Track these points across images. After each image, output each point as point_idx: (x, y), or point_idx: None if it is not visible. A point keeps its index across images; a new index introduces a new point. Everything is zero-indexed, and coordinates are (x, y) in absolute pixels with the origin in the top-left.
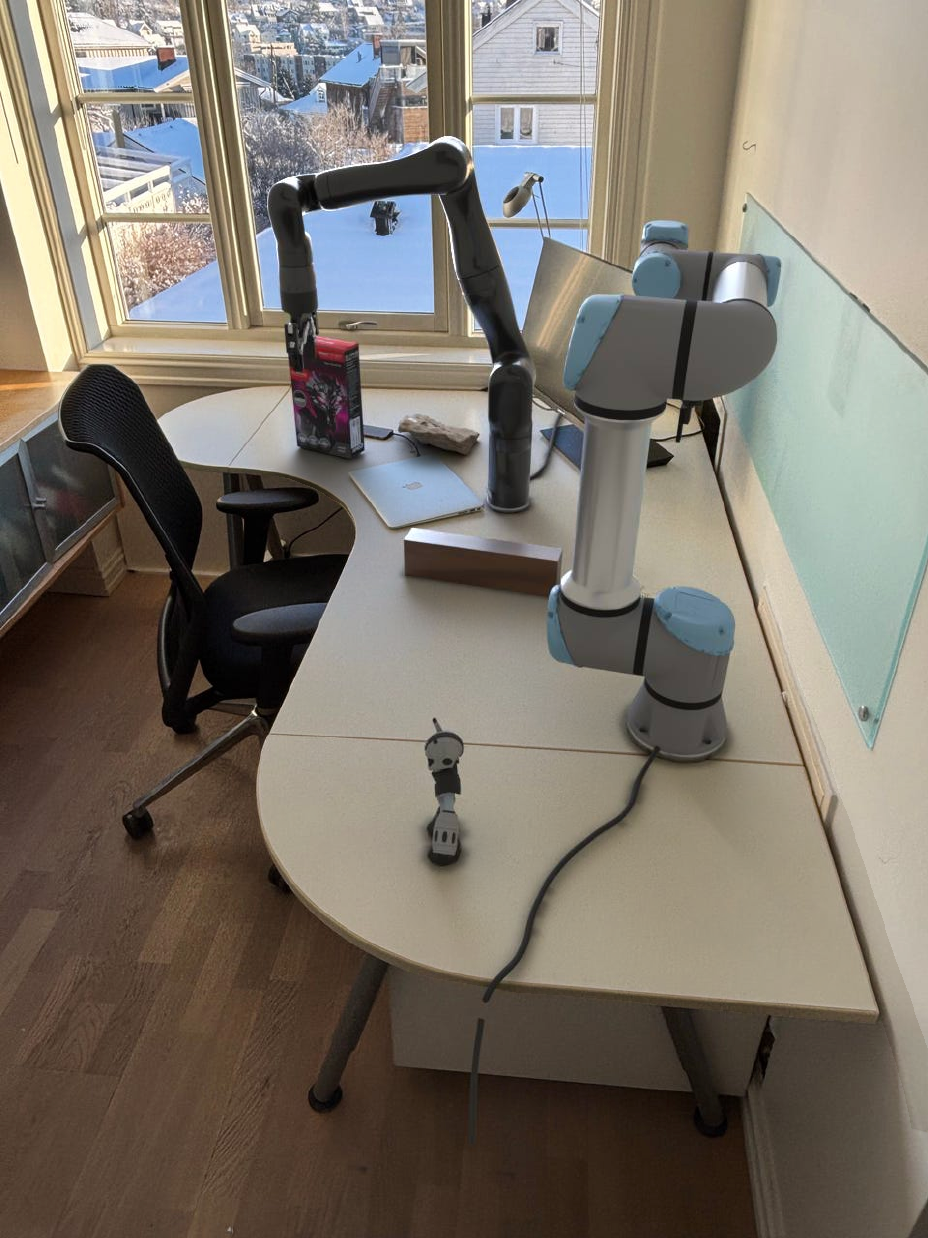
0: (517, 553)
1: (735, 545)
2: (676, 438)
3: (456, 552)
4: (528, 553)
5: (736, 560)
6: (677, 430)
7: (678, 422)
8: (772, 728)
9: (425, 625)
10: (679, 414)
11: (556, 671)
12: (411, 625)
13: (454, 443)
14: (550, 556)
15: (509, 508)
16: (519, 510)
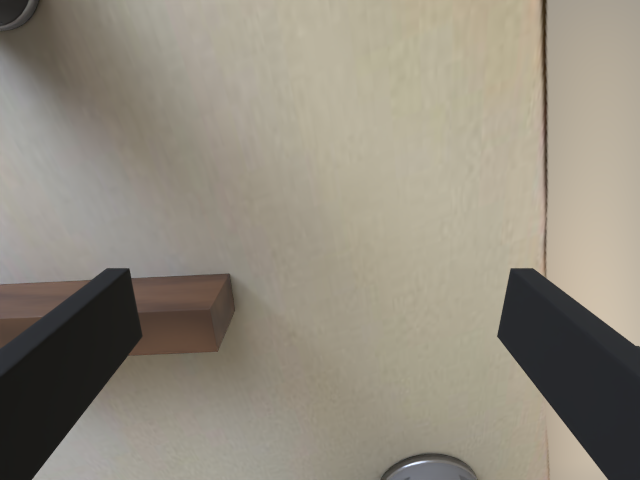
0: (139, 348)
1: (541, 6)
2: (510, 349)
3: None
4: (158, 343)
5: (534, 81)
6: (534, 382)
7: (565, 421)
8: (528, 463)
9: (99, 415)
10: (606, 474)
11: (286, 446)
12: (83, 419)
13: None
14: (199, 340)
15: (9, 23)
16: (33, 10)
